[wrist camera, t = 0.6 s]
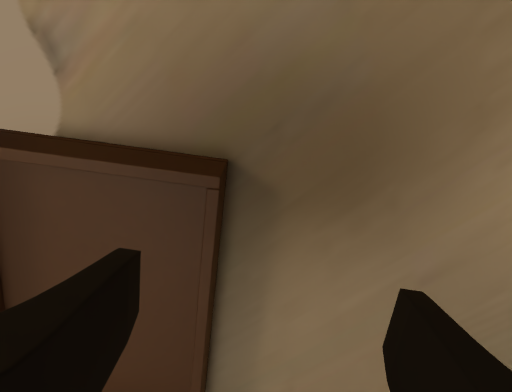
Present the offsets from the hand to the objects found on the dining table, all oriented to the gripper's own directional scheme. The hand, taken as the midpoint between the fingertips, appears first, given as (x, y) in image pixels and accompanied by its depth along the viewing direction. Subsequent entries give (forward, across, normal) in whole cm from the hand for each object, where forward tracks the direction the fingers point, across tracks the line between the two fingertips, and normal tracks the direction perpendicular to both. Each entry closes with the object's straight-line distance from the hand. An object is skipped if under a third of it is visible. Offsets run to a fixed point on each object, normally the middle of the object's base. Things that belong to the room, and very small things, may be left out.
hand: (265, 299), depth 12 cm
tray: (+10, +8, +8) cm, 15 cm away
